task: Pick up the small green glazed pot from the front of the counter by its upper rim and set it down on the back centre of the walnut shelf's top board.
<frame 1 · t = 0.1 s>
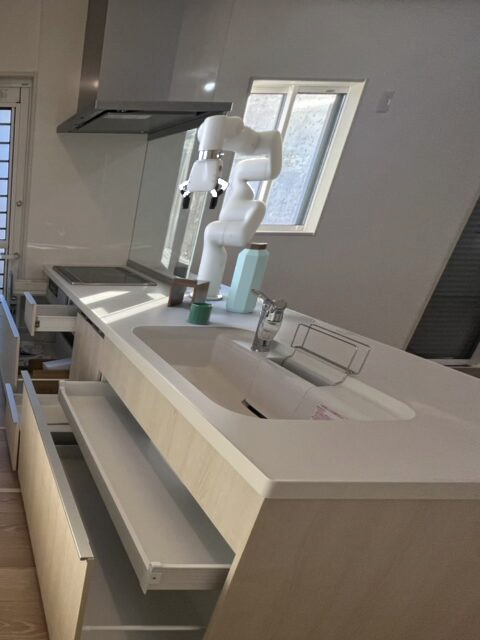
hand: (198, 209, 153), 37 cm above the table, tool pointing down, fingers open, 9 cm apart
water bottle: (239, 310, 160), on the table
shelf: (185, 306, 168), on the table
pot: (198, 322, 146), on the table
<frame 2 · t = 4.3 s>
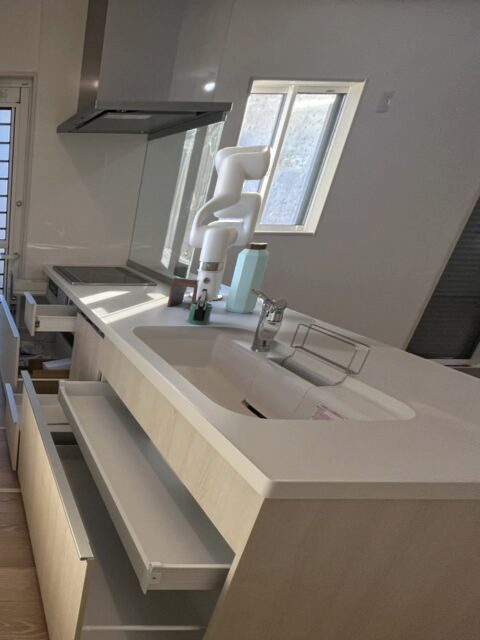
hand: (199, 317, 146), 2 cm above the table, tool pointing down, fingers closed on pot, 6 cm apart
pot: (198, 322, 146), on the table, touching gripper
everything else where it was.
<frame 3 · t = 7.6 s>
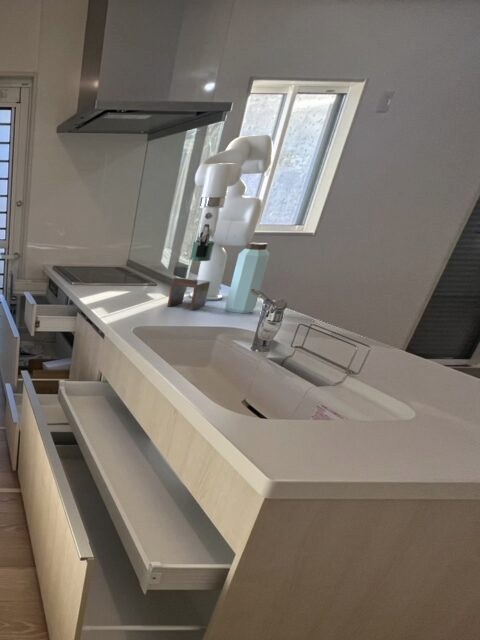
hand: (201, 255, 152), 21 cm above the table, tool pointing down, fingers closed on pot, 6 cm apart
pot: (200, 259, 152), point 20 cm above the table, touching gripper
everything else where it was.
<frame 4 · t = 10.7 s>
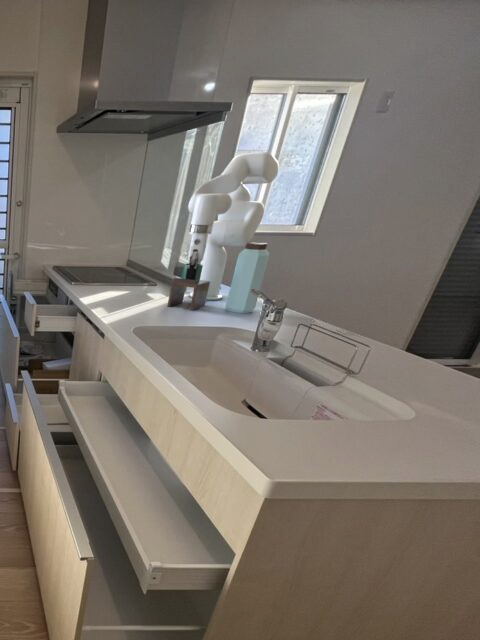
hand: (190, 277, 162), 12 cm above the table, tool pointing down, fingers closed on pot, 6 cm apart
pot: (190, 281, 163), point 10 cm above the table, touching gripper
everything else where it was.
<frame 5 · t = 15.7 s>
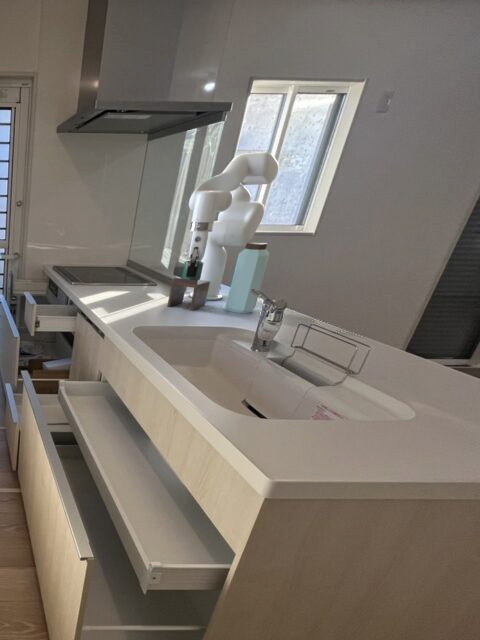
hand: (191, 274, 162), 13 cm above the table, tool pointing down, fingers closed on pot, 6 cm apart
pot: (190, 278, 163), point 11 cm above the table, touching gripper
everything else where it was.
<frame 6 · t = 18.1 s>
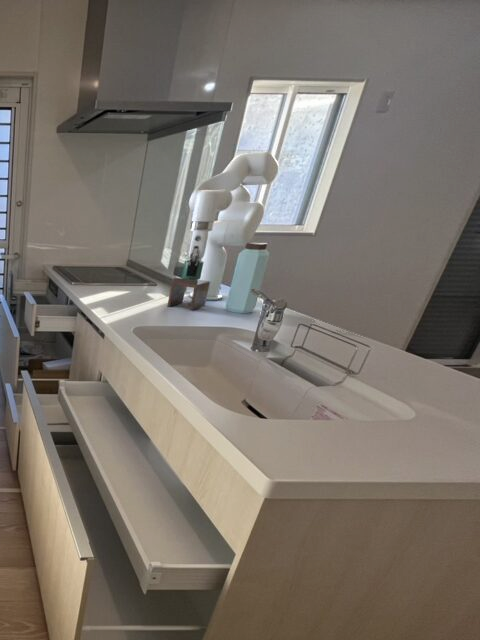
hand: (191, 274, 162), 13 cm above the table, tool pointing down, fingers closed on pot, 6 cm apart
pot: (190, 278, 163), point 11 cm above the table, touching gripper
everything else where it was.
when the fingers open (13 cm above the table, at t = 20.3 s): pot drops 1 cm, resting on shelf.
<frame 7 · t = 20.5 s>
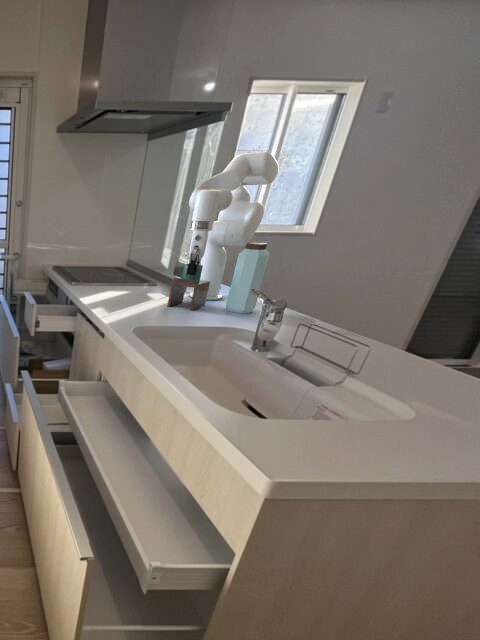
hand: (191, 272, 162), 13 cm above the table, tool pointing down, fingers open, 8 cm apart
pot: (190, 281, 163), point 10 cm above the table, touching shelf
everything else where it was.
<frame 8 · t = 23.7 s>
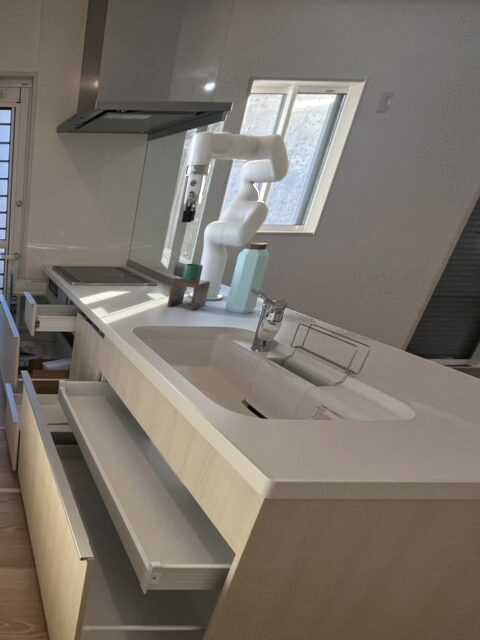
hand: (187, 221, 157), 32 cm above the table, tool pointing down, fingers open, 9 cm apart
nothing on the table moved.
at the end: pot 0.3 cm from the target spot on the shelf, point 10.0 cm above the shelf's base; pot tilted 0°; the gripper is holding nothing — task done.
